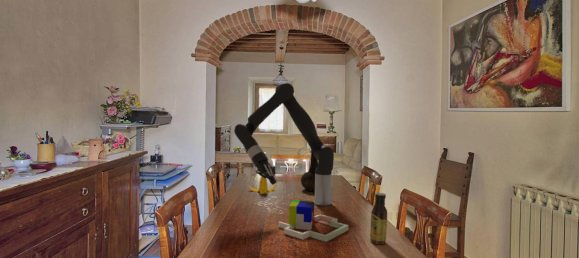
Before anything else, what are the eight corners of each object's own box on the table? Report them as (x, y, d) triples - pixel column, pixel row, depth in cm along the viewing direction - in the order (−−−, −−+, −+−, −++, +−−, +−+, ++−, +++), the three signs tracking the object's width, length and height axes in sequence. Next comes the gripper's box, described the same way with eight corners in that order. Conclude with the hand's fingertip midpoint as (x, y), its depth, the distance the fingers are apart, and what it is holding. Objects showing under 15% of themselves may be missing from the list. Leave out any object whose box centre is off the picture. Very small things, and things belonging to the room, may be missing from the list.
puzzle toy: (310, 230, 142) (311, 207, 141) (288, 227, 144) (289, 205, 143) (313, 222, 152) (314, 201, 151) (292, 220, 154) (293, 200, 153)
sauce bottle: (367, 239, 132) (369, 191, 132) (382, 239, 133) (384, 191, 132) (373, 245, 126) (375, 195, 125) (388, 245, 126) (390, 195, 126)
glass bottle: (329, 188, 224) (330, 148, 222) (323, 194, 207) (324, 150, 206) (304, 186, 229) (305, 146, 228) (297, 191, 213) (298, 149, 211)
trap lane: (271, 229, 141) (271, 224, 141) (307, 215, 162) (308, 211, 162) (319, 245, 125) (319, 239, 125) (353, 227, 146) (353, 222, 146)
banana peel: (265, 196, 198) (265, 169, 197) (247, 190, 212) (247, 165, 211) (285, 192, 209) (285, 167, 209) (266, 187, 223) (267, 163, 223)
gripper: (252, 152, 158) (269, 180, 151) (270, 150, 168) (287, 177, 161) (244, 161, 161) (261, 190, 154) (262, 159, 172) (279, 186, 164)
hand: (274, 183), depth 158 cm, fingers closed
